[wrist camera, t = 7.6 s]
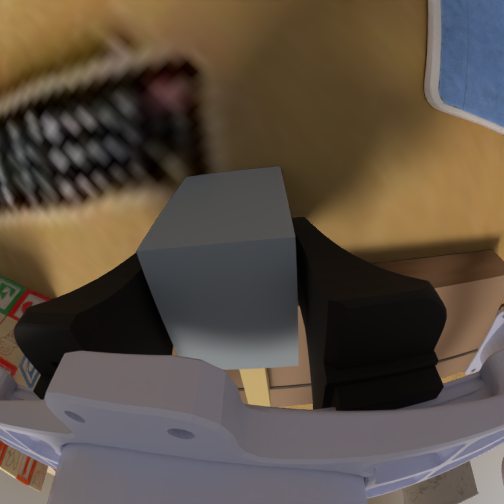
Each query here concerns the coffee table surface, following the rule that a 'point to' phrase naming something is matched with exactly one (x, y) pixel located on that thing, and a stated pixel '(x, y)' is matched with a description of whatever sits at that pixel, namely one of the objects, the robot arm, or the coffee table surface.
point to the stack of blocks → (18, 377)
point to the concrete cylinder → (443, 487)
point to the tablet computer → (466, 60)
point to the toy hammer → (228, 274)
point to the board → (453, 335)
